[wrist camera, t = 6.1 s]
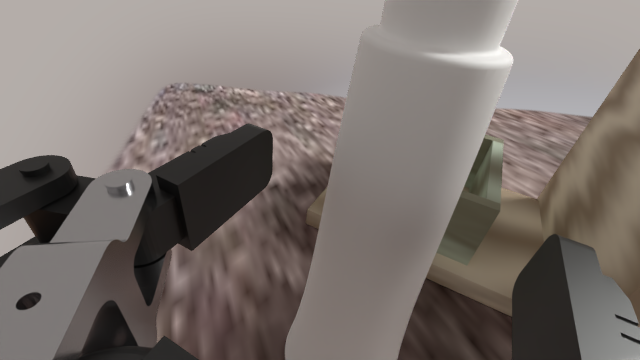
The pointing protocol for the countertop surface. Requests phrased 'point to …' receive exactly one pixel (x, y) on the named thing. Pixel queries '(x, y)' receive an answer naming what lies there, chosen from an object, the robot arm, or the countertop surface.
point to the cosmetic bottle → (399, 171)
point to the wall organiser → (548, 208)
